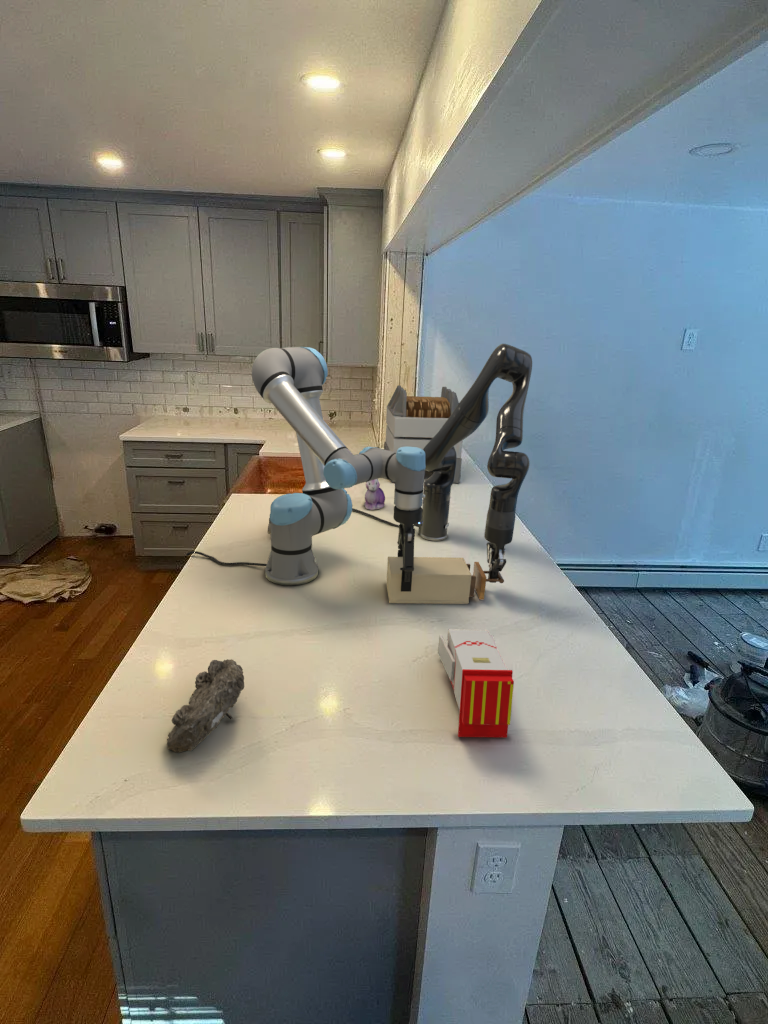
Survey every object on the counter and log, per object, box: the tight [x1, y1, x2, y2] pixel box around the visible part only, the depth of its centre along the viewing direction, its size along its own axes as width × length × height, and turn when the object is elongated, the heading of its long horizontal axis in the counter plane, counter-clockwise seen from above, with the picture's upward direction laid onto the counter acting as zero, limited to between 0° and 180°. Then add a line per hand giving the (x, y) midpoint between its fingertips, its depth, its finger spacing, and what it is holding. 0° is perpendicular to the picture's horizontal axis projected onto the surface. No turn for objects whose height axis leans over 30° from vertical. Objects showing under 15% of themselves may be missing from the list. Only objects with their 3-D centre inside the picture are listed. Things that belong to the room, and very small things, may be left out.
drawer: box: [466, 561, 505, 601], centre depth 158 cm, size 26×10×7 cm, turn 94°
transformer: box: [383, 384, 464, 484], centre depth 268 cm, size 34×33×41 cm
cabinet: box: [385, 556, 472, 605], centre depth 157 cm, size 22×11×9 cm, turn 94°
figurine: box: [363, 478, 386, 511], centre depth 223 cm, size 9×10×15 cm
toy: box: [437, 628, 515, 738], centre depth 117 cm, size 12×13×30 cm
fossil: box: [166, 658, 245, 754], centre depth 106 cm, size 22×10×15 cm
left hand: (403, 580), depth 157 cm, fingers closed on cabinet, 11 cm apart
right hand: (492, 581), depth 159 cm, fingers closed
